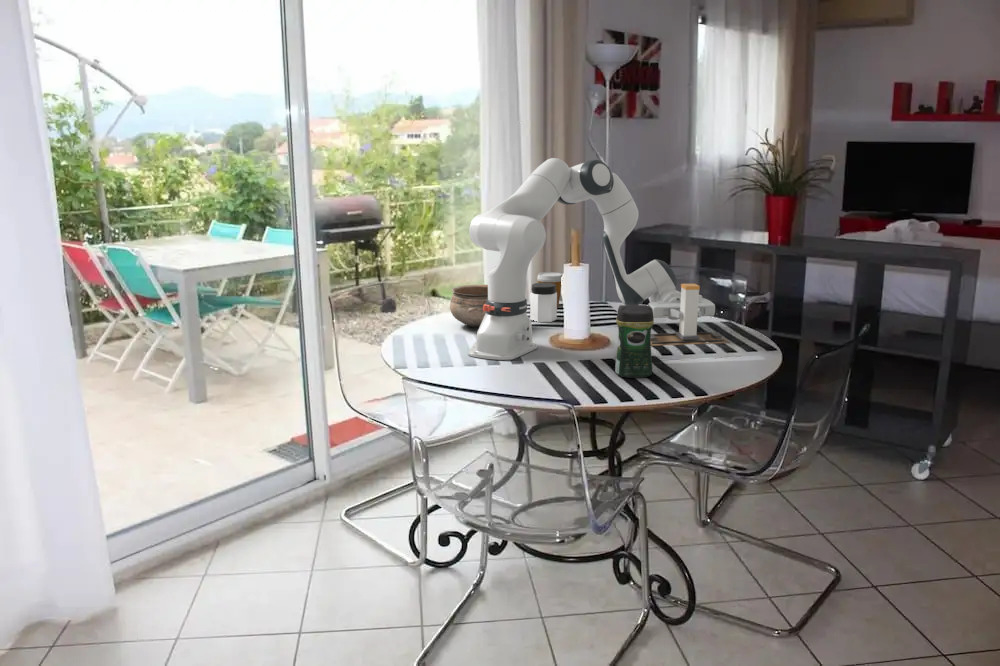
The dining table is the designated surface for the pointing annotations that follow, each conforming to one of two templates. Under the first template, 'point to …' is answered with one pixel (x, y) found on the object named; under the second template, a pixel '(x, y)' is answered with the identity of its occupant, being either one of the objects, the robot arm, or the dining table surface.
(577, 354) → the dining table surface
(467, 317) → the cooking pot
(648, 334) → the coffee jar
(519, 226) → the robot arm
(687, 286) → the fader
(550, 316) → the jar
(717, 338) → the board
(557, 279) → the disposable coffee cup
